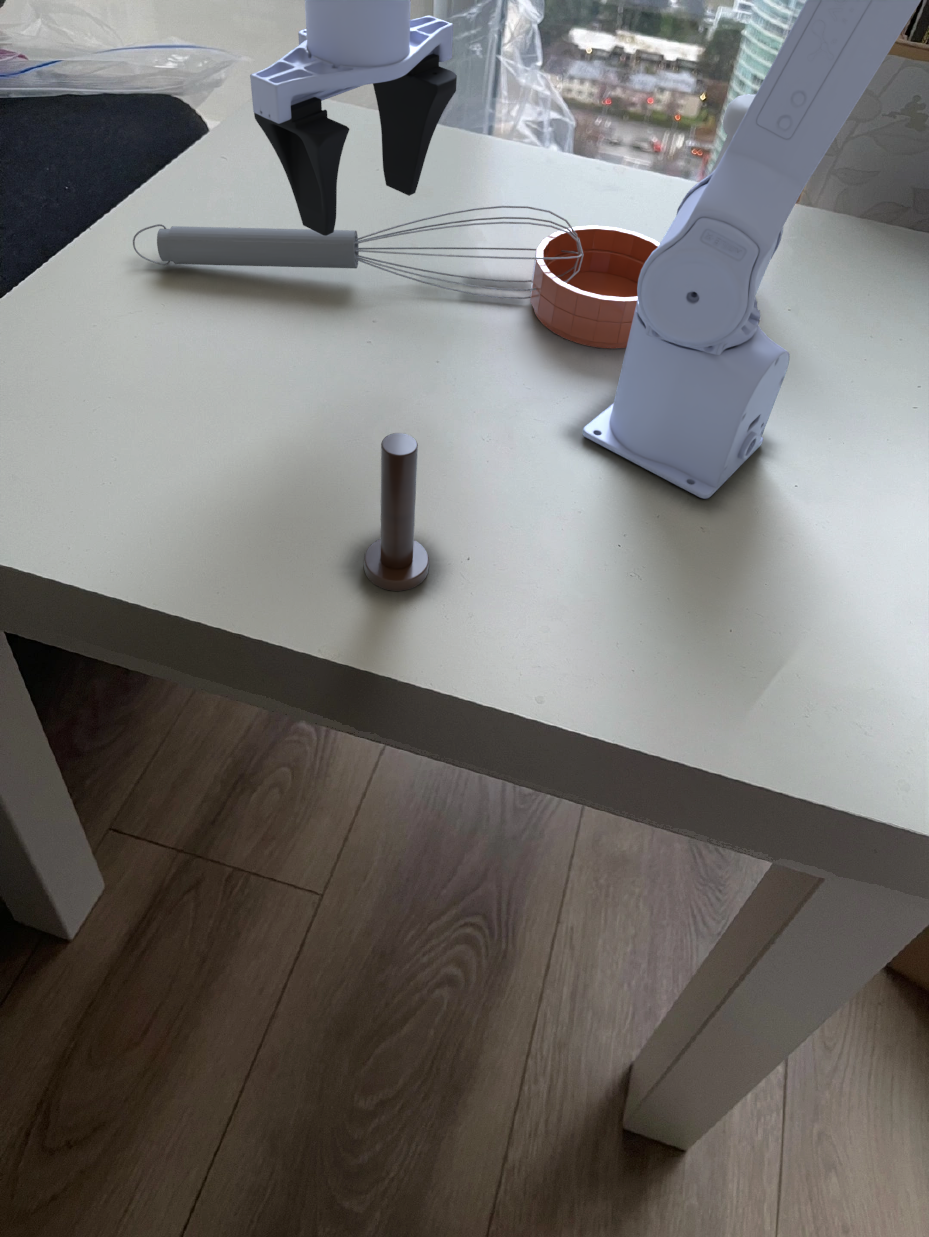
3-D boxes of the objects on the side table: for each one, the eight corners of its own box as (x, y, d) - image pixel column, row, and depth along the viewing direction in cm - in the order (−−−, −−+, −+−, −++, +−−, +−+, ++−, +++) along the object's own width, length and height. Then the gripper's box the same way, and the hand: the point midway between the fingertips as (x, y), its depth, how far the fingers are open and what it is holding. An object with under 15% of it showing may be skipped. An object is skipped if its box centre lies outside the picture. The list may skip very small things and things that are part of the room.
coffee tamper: (441, 566, 54) (450, 443, 47) (399, 601, 52) (403, 478, 45) (393, 536, 55) (396, 412, 48) (350, 569, 53) (347, 444, 46)
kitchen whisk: (145, 239, 74) (130, 157, 70) (574, 278, 76) (587, 200, 71) (124, 280, 70) (107, 196, 66) (577, 320, 72) (592, 240, 67)
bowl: (695, 310, 74) (708, 262, 71) (621, 368, 68) (632, 319, 65) (580, 259, 78) (588, 211, 75) (501, 310, 72) (506, 260, 69)
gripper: (392, -85, 55) (390, 153, 66) (198, -39, 48) (230, 223, 58) (487, -55, 53) (469, 188, 63) (298, -2, 45) (313, 267, 55)
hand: (360, 208), depth 60 cm, fingers open, 7 cm apart
